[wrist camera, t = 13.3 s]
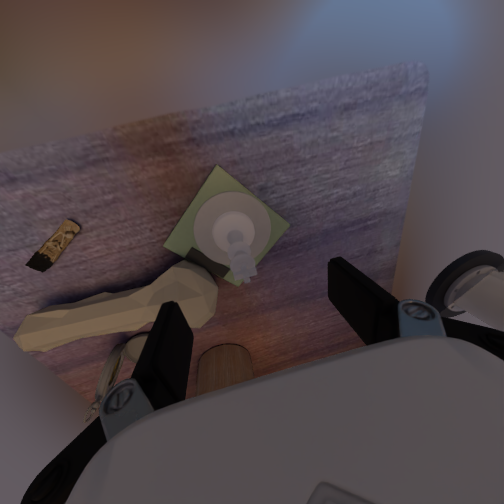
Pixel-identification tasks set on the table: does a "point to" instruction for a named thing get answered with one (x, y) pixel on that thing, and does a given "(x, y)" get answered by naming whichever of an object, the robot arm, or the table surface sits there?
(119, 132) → the table surface
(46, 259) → the ornate gold black bar
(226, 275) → the scale
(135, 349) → the pocket watch
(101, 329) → the faceted club
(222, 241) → the chess piece
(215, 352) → the planter
